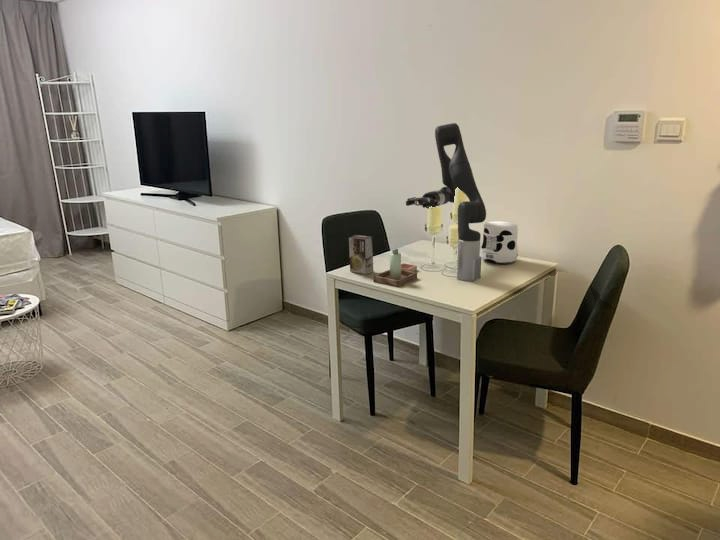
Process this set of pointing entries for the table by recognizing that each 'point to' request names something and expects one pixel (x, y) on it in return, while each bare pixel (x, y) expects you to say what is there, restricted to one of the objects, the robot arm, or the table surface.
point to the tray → (385, 279)
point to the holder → (408, 267)
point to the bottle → (395, 265)
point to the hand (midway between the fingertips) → (414, 204)
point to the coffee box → (361, 254)
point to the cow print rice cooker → (499, 242)
